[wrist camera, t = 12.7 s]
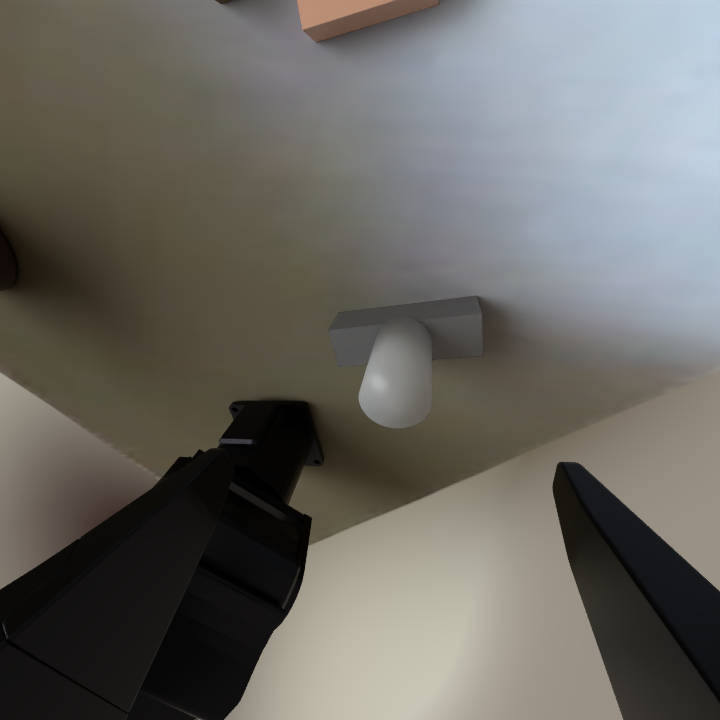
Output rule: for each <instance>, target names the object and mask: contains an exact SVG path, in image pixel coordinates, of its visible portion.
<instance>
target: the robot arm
mask: <svg viewBox="0 0 720 720" xmlns="http://www.w3.org/2000/svg"><path fill="white" fill-rule="evenodd" d="M301 408H303V409H301ZM229 410H230V412H231V414H232V416H233V419H234V421H233V422H232V423H231V425H230V426H229V427H228V429H227V430H226V431H225V433H224V434H223V435H222V437H221V438H220V440H219V443H220V445H219V446H218V448H212V449H209V450H208V451H206V452H204V451H202V450H200V449H199V450H198V451H197V453H196V454H195V455H194V456H193V458H192V457H179V458H178V459H177V460H176V462H175V463H174V464H173V465H172V466H171V468H170V469H169V470H168V471H167V472H166V474H165V475H164V476H163V477H162V478H161V479H160V480H159V482H158V483H157V484H156V485H155V486H154V487H153V488H152V489H151V490H149V491H148V492H146V493H145V494H143V495H142V496H140V497H139V498H137V499H136V500H134V501H133V502H131V503H130V504H128V505H127V506H125V507H124V508H123V509H121V510H120V511H118V512H117V513H115V514H114V515H112V516H111V517H109V518H108V519H107V520H105V521H104V522H102V523H101V524H99V525H98V526H96V527H95V528H93V529H92V530H90V531H89V532H87V533H86V534H85V535H83V536H82V537H81V538H80V539H77V540H76V541H74V542H73V543H71V544H70V545H69V546H67V547H66V548H64V549H63V550H61V551H60V552H58V553H56V554H55V555H53V556H52V557H50V558H49V559H47V560H46V561H44V562H43V563H41V564H40V565H38V566H37V567H36V568H34V569H32V570H31V571H29V572H27V573H26V574H24V575H23V576H21V577H20V578H18V579H16V580H15V581H13V582H12V583H10V584H8V585H7V586H5V587H4V588H2V589H0V720H198V719H201V720H224V719H225V718H226V717H227V716H228V714H229V713H230V712H231V711H232V710H233V709H234V708H235V706H237V705H238V703H239V702H240V700H241V698H242V696H243V694H244V691H245V689H246V687H247V684H248V682H249V680H250V677H251V675H252V673H253V671H254V668H255V666H256V664H257V662H258V660H259V657H260V655H261V653H262V651H263V649H264V647H265V646H266V644H267V642H268V640H269V638H270V636H271V635H272V633H273V631H274V630H275V629H276V628H277V627H278V626H279V625H280V624H281V623H282V622H283V620H284V619H285V617H286V616H287V615H288V613H289V611H290V609H291V608H292V606H293V604H294V602H295V600H296V597H297V595H298V592H299V590H300V587H301V584H302V580H303V576H304V570H305V563H306V557H307V550H308V543H309V536H310V529H311V522H312V518H311V517H310V516H308V515H306V514H302V513H300V512H299V511H297V510H295V509H294V508H292V507H290V506H289V505H288V504H289V501H290V499H291V496H292V494H293V492H294V489H295V487H296V484H297V482H298V480H299V477H300V475H301V472H302V470H303V467H304V465H307V466H321V465H322V464H323V462H324V457H323V453H322V450H321V446H320V443H319V440H318V436H317V433H316V429H315V426H314V423H313V419H312V416H311V412H310V409H309V406H308V404H306V403H305V402H301V401H267V402H233V403H232V404H231V405H230V407H229ZM553 494H554V499H555V504H556V508H557V512H558V517H559V521H560V526H561V530H562V535H563V539H564V543H565V547H566V552H567V556H568V560H569V563H570V566H571V569H572V572H573V575H574V578H575V581H576V584H577V587H578V590H579V593H580V595H581V599H582V601H583V604H584V607H585V610H586V613H587V616H588V619H589V622H590V625H591V627H592V630H593V633H594V636H595V639H596V642H597V645H598V647H599V650H600V653H601V656H602V659H603V662H604V665H605V668H606V671H607V674H608V677H609V679H610V682H611V685H612V688H613V691H614V694H615V696H616V700H617V703H618V705H619V708H620V711H621V714H622V717H623V719H624V720H720V591H719V590H718V589H716V588H715V587H714V586H713V585H712V584H711V583H710V582H709V581H708V580H707V579H706V578H704V577H703V576H702V575H701V574H700V573H699V572H698V571H697V570H696V569H695V568H693V567H692V566H691V565H690V564H689V563H688V562H687V561H686V560H685V559H683V557H681V556H680V555H679V554H678V553H677V552H676V551H675V550H674V549H673V548H672V547H670V546H669V545H668V544H667V543H666V542H665V541H664V540H663V539H662V538H661V537H660V536H658V535H657V534H656V533H655V532H654V531H653V530H652V529H651V528H650V527H649V526H647V525H646V524H645V523H644V522H643V521H642V520H641V519H640V518H639V517H638V516H637V515H635V514H634V513H633V512H632V511H631V510H630V509H629V508H628V507H627V506H626V505H624V504H623V503H622V502H621V501H620V500H619V499H618V498H617V497H616V496H615V495H614V494H612V493H611V492H610V491H609V490H608V489H607V488H606V487H605V486H604V485H603V484H602V483H600V482H599V481H598V480H597V479H596V478H595V477H594V476H593V475H592V474H590V473H589V472H588V471H587V470H586V469H585V468H584V467H583V466H582V465H580V464H579V463H576V462H559V463H558V465H557V468H556V473H555V477H554V481H553Z"/></svg>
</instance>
